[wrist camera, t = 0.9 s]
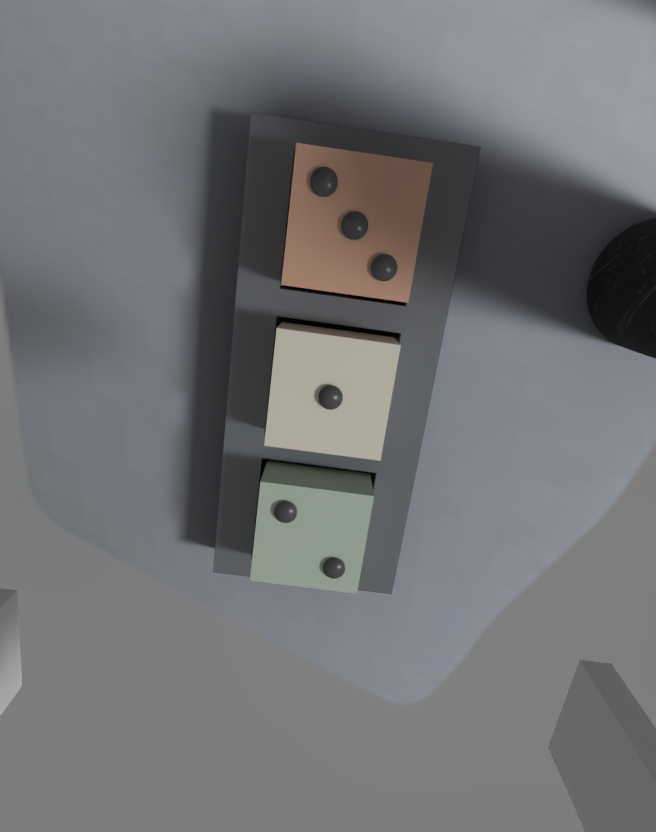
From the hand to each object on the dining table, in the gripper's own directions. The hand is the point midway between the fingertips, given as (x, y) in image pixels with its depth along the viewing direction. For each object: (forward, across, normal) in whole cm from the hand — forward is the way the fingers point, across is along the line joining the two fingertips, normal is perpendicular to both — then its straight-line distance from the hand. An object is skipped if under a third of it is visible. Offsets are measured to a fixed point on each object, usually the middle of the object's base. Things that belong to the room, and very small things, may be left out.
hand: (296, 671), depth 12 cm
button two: (+17, 0, -5) cm, 18 cm away
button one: (+18, 0, +3) cm, 18 cm away
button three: (+18, 0, +11) cm, 21 cm away
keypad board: (+20, 0, +3) cm, 20 cm away
